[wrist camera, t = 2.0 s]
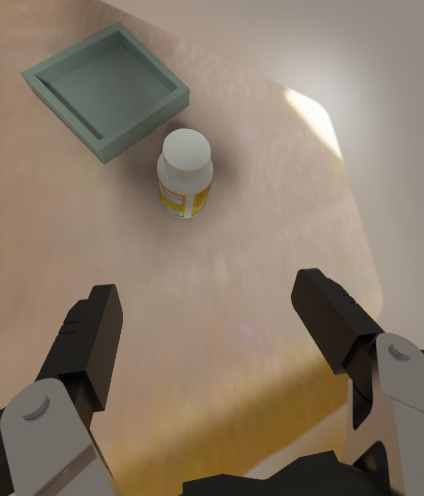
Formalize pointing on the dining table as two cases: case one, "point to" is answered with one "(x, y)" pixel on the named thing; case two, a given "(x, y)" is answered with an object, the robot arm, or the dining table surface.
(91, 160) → the dining table surface
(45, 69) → the tray
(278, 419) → the dining table surface
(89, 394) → the robot arm
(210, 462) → the dining table surface
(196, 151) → the supplement bottle
